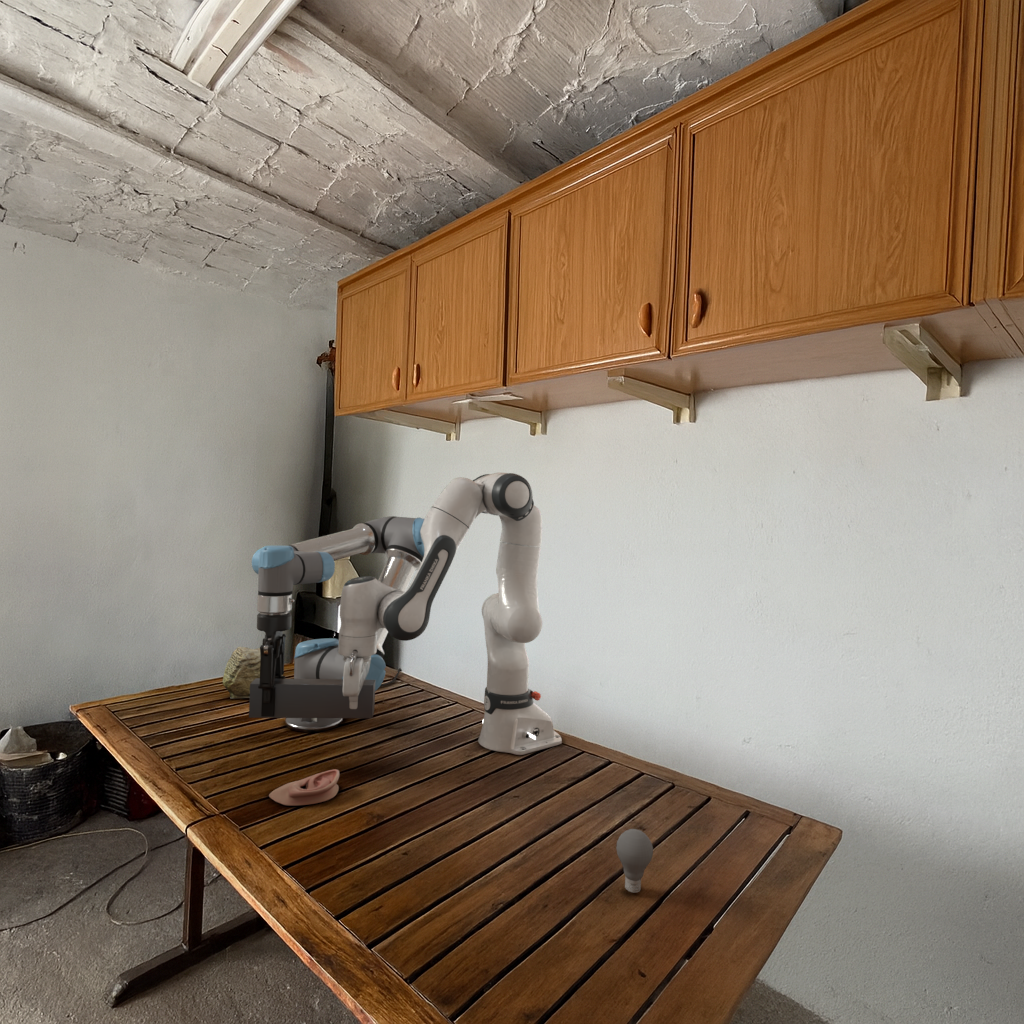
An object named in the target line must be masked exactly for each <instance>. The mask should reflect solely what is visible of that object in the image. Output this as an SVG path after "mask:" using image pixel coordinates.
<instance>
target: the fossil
mask: <svg viewBox="0 0 1024 1024" xmlns="http://www.w3.org/2000/svg"><path fill="white" fill-rule="evenodd" d="M260 659H261V655H260V647H258V648H251V647H247V646H246V647H245V646H238V647H237V648H236V649H235V650H233V651H232V653H231V656H230V657H229V659H228V660H227V663H226V666H225V668H224V671H223V675H222V676H223V677H222V685H223V687H224V688H225V690H226V691H228V693H229V698H230V699H250V684H251V683H252V682H253V681H254V680H255V679H256V678H260ZM282 676H284V674H283V675H282Z"/></svg>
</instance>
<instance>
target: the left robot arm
mask: <svg viewBox="0 0 1024 1024" xmlns="http://www.w3.org/2000/svg"><path fill="white" fill-rule="evenodd" d="M424 519H425V518H423V517H407V516H396V515H395V516H393V515H392V516H383V517H379V518H374V519H371V520H367V521H364V522H359V523H357V524H355V525H354V526H353V528H351V529H347V530H342V531H338V532H334V533H330V534H327V535H322V536H319V537H316V538H315V537H314V538H310V539H307V540H303V541H299V542H295V543H291V544H287V545H265V546H263V547H261V548H259V549H257V550H255V552H254V553H253V555H252V558H251V568H252V570H253V572H254V573H255V574H257V576H258V577H257V578H258V579H257V581H258V583H257V601H256V602H257V606H256V611H257V612H258V614H257V615H256V629H257V630H258V631H259V632H264V633H265V634H264V637H263V638H262V643H261V645H260V647H259V648H260V655H261V659H260V685H259V686H258V689H262V709H261V716H263V717H274V711H275V687H274V680H275V678H279V679H286V676H285V675H284V674H285V654H286V653H285V651H286V650H285V649H286V638H287V634H286V633H283V632H286V631H289V630H291V628H292V613H291V611H292V608H293V603H295V598H293V590H294V586H296V585H305V584H316V583H317V584H319V583H323V582H327V581H329V580H330V579H332V577H333V576H334V574H335V572H336V571H335V569H336V563H335V562H336V561H338V560H343V559H346V558H349V557H353V556H357V555H362V556H368V555H372V554H384V555H385V556H386V559H387V560H386V562H385V564H384V566H383V569H382V571H381V572H380V574H379V577H378V579H377V580H378V581H380V582H382V583H383V584H385V585H387V586H390V587H392V588H395V589H398V590H401V591H403V592H405V591H406V590H407V589H408V588H409V586H410V584H411V582H412V580H413V578H414V574H415V572H417V571H418V569H419V567H420V565H421V563H422V561H423V558H424V544H423V541H422V538H421V533H420V530H421V527H422V524H423V522H424ZM388 634H389V632H388V631H387V630H386V629H385V628H380V629H378V631H377V652H376V654H374V655H371V661H370V668H369V672H368V674H367V677H366V679H365V680H376V681H375V692H377V691H378V690H379V688H381V687H385V686H388V685H390V684H391V685H392V684H393V683H394V682H395V681H396V680H397V678H398V677H399V675H400V673H401V672H402V671H403V670H402V668H401V667H399V668H398V669H397V672H398V673H397V672H396V674H395V676H394V677H393V679H391V680H390V681H388V682H386V683H383V682H384V680H385V677H386V673H387V671H386V667H387V666H386V662H385V659H384V656H385V650H384V649H383V645H384V642H385V640H386V638H387V636H388ZM338 646H339V638H335V637H333V638H332V637H329V638H315V639H308V640H304V641H302V642H299V643H298V644H297V645H296V646H295V652H294V653H295V654H294V656H293V659H294V661H293V662H294V663H293V665H294V667H293V679H343V673H344V665H345V661H344V660H343V658H344V656H342V655H340V654H339V653H338ZM282 675H283V676H282ZM343 722H344V718H285V726H286V728H287V729H289V730H291V731H294V732H295V731H296V732H301V733H316V732H325V731H329V730H332V729H335V728H337V727H339V726H340V725H342V723H343Z"/></svg>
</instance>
